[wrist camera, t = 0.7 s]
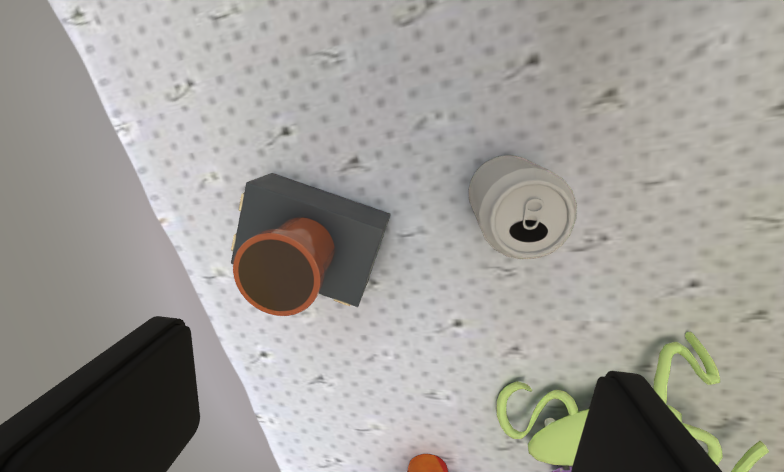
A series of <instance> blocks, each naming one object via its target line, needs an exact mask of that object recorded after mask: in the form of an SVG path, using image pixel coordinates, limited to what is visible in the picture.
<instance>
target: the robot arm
mask: <svg viewBox="0 0 784 472" xmlns="http://www.w3.org/2000/svg"><path fill="white" fill-rule="evenodd" d="M199 421H200V412H199V402H198V394H197V384H196V374H195V365H194V356H193V347H192V338H191V331H190V328H189V327H187V326H185V323H184V322H183V320H181V319H177V318H168V317H160V316H156V317H153V318H151V319H149V320H148V321H147V322H145V323H144V324H142V325H141V326H140V327H138V328H137V329H135V330H134V331H133V332H131V333H130V334H128V335H127V336H125V337H124V338H123V339H121V340H120V341H118V342H117V343H116V344H114V345H113V346H112V347H110V348H109V349H107V350H106V351H104V352H103V353H101V354H100V355H99V356H97V357H96V358H94V359H93V360H92V361H90V362H89V363H87V364H86V365H84V366H83V367H82V368H80V369H79V370H77V371H76V372H75V373H73V374H72V375H70V376H69V377H68V378H66V379H65V380H63V381H62V382H60V383H59V384H58V385H56V386H55V387H53V388H52V389H51V390H49V391H48V392H46V393H45V394H44V395H42V396H41V397H39V398H38V399H37V400H35V401H34V402H32V403H31V404H30V405H28V406H27V407H25V408H24V409H22V410H21V411H20V412H18V413H17V414H15V415H14V416H13V417H11V418H10V419H9V420H7V421H5V422H4V423H3V424H1V425H0V472H166V471H167V470H168V469H169V467H170V466H171V465H172V463H173V462H174V461H175V459H176V458H177V457H178V455H179V454H180V453H181V451H182V450H183V449H184V447H185V446H186V445H187V443H188V442H189V441H190V439H191V438H192V437H193V435H194V434H195V432H196V430H197V428H198V425H199ZM571 472H722V471H721V470H720V468H719V467H718V466H717V465H716V464H715V462H714V461H713V460H712V459H711V458H710V456H709V455H708V454H707V453H706V452H705V450H704V449H703V448H702V447H701V446H700V444H699V443H698V442H697V441H696V440H695V438H694V437H693V436H692V435H691V434H690V432H689V431H688V430H687V429H686V428H685V426H684V425H683V424H682V423H681V422H680V420H679V419H678V418H677V417H676V416H675V414H674V413H673V412H672V411H671V410H670V408H669V407H668V406H667V405H666V404H665V402H664V401H663V400H662V399H661V397H660V396H659V395H658V394H657V393H656V391H655V390H654V389H653V388H652V387H651V385H650V384H649V383H648V382H647V381H646V379H645V378H644V377H642V376H641V375H639V374H634V373H626V372H617V371H609V372H608V373H607V374H606V376H605V377H600V378H599V379H598V381H597V383H596V387H595V390H594V394H593V397H592V401H591V404H590V407H589V411H588V414H587V418H586V421H585V425H584V428H583V432H582V435H581V438H580V442H579V445H578V449H577V452H576V456H575V459H574V463H573V466H572V470H571Z"/></svg>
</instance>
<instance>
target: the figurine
mask: <svg viewBox="0 0 784 472" xmlns="http://www.w3.org/2000/svg"><path fill="white" fill-rule="evenodd" d="M685 338H686V339H687V340H688V342H689V343H690V344H691V345H692V347H693V348H694V349H695V351H696V352H697V354H698V355H699V357H700V359H701V360H702V362H703V364H704V366H705V369H706V373H705V372H704V371H703V370H702V369H701V367H700V366H699V364H698V362H697V361H696V359H695V357H694V356H693V355H692V353H691V352H690V351H689V349H687V348H686V347H684V346H683V345H681V344H679V343H677V342H673V343H669V344H666V345H665V346H664V347H663V349H662V350H661V352H660V355H659V360H658V365H657V370H656V374H655V378H654V390H655V391H656V393H657V394H658V395H659V396H660V397H661V399H662V400H663V401H664V402H665V404H666V402H667V382H668V378H669V373H670V367H671V360H672V357H673V355H674V354H676V353H679V354H680V355H682V356H683V357H684V358H686V360H687V361H688V362H689V364H690V365H691V366H692V368H693V369H694V371H695V372H696V374H697V375H698V376H699V377H700V378H701V379H702V380H703V381H704V382H705V383H706V384H708V385H711V384H716V383H720V377H719V372H718V369H717V367H716V365H715V363H714V361H713V360H712V358H711V357H710V355H709V354H708V352H707V350H706V349H705V348H704V347H703V345H702V344H701V343H700V342H699V340H698V339H697V338H696V337H695V336H694V335H693V334H692V333H691V332H687V333H686V334H685ZM519 389H525V390H527V391H530V392H532V389H531V388H530V387H529V386H528V385H527V384H524V383H521V382H518V381H517V382H514V383H511V384H509V385H507V386H506V387H505V388H503V390H502V391H501V392H500V394H499V396H498V400H497V417H498V420H499V423H500V426H501V427H502V429H503V430H504V432H505V433H506V434H507V435H508V436H510V437H511V438H513V439H522V438H523V437H524V436H525V435H526V434H528V433H529V431H530V430H531V428H532V426H533V424H534V422H535V420H536V418H537V417H538V415H539V413H540V412H541V410H542V409H543V408H544V406H545V405H546V404H547V402H548V401H550V400H551V399H560V400H561V401H562V402H563V403H564V404H565V405H566V407H567V409H568V412H569V415H568V416H566V417H563V418H561V419H559V420H557V421H556V420H555V419H553V418H547V419H546V420H545V423H544V425H545V427H544V428H543V429H542V430H540V431H539V432H537V433H536V434H535V435H534V436H533V438H532V439H531V441H530V442H529V443H528V451H529V453H530V454H531V455H532V456H533V457H534V458H535V459H536V460H539V461H542V462H545V463H549V464H552V465H566V466H562V467H560V468H558V469H556V470H554V471H552V472H571V470H572V467H569V466H573V463H574V459H575V456H576V452H577V449H578V445H579V442H580V438H581V435H582V432H583V428H584V425H585V421H586V418H587V414H588V411H589V409H587V410H583V411H580V412H578V407H577V405H576V403H575V401H574V399H573V398H572V397H571V396H570V395H569V394H568V393H567V392H564V391H560V390H554V391H551V392H549V393H547V394H546V395H545V396H544V397H543V398H542V399H541V401H540V402H539V403H538V405H537V406H536V408H535V410H534V412H533V414H532V417H531V420H530V423H529V425H528V428H527V429H526V431H522V432H519V431H517V430H515V429H513V427H512V426H511V424H510V423H509V421H508V418H507V415H506V403H507V400H508V397H509V396H510V395H511V394H512V393H513V392H515V391H517V390H519ZM667 406H668V405H667ZM668 407H669V408H670V410H671V411H672V412H673V413H674V414H675V416H676V417H677V418H678V419H679V420H680V422H681V423H682V414H681V413H680V412H678V411H677V410H675V409H674V408H673V407H671V406H668ZM682 424H683V425H684V426H685V428H686V429H687V430H688V431H689V432H690V434H691V435H692V436H693V437H694V438H695V439H698V440H701V441H703V442H704V443H706V444H707V446H708V453H707V454H708V455H709V456H710V458H711V459H712V460H713V461H714V462H715V464H716V465H718V464H719V462H720V460H721V459H722V449H721V446H720V444H719V441H718V439H717V438H715V437H714V436H713V435H711V434H710V433H708V432H707V431H704V430H702V429H699V428H696V427H693V426H690V425H687V424H684V423H682ZM768 452H769V451H768V449H767V448H766V446H765V445H764V444H763V443H762V442H761V441H759V442H758V443H756V444H755V445H754V446H752V447H751V448H750V449H749V450H748V451H747V452H746V453H745V454H744V456H743V457H742V458H741V459H740V460H739V461H738V463H737V464H736V465H735V467H734V468H733V470H732V471H731V472H748V471H749V470H750V469H751V467H752V466H753V465H754V464H755V463H756V462H757V461H758V460H759V459H760V458H761V457H763V456H764V455H765V454H767V453H768Z"/></svg>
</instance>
